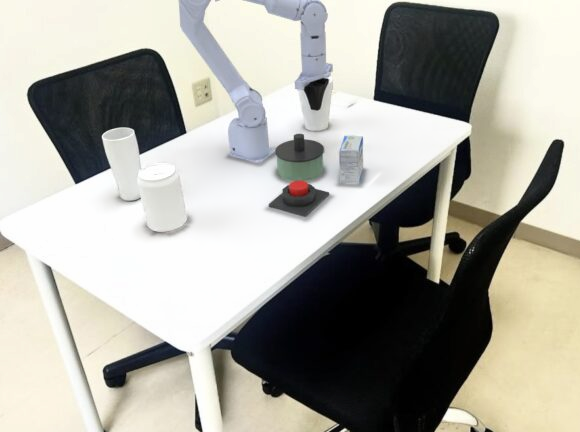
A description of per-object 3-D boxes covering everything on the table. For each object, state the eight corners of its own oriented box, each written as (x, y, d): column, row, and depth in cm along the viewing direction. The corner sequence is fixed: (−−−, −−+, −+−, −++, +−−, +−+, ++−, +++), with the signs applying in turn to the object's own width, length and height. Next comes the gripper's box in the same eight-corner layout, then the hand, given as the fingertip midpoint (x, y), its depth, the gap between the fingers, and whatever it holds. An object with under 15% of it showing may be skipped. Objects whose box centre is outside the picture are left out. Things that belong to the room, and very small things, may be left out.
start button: (285, 194, 116) (285, 187, 115) (295, 186, 119) (295, 178, 118) (302, 198, 115) (301, 191, 114) (311, 190, 117) (311, 182, 116)
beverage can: (144, 218, 116) (132, 167, 109) (182, 209, 118) (173, 158, 112) (151, 238, 109) (139, 184, 103) (192, 227, 112) (182, 175, 105)
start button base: (268, 209, 117) (267, 196, 115) (293, 187, 124) (293, 176, 122) (305, 219, 113) (305, 206, 111) (329, 197, 120) (329, 184, 118)
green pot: (269, 177, 129) (267, 156, 126) (293, 159, 136) (292, 138, 133) (308, 186, 124) (307, 165, 121) (330, 167, 131) (330, 146, 128)
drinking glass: (138, 185, 128) (124, 124, 120) (154, 195, 124) (140, 132, 116) (111, 196, 124) (95, 134, 116) (127, 206, 120) (111, 143, 112)
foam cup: (302, 119, 157) (300, 74, 150) (334, 119, 156) (334, 74, 149) (297, 133, 149) (294, 86, 142) (331, 133, 148) (330, 86, 141)
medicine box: (359, 186, 123) (359, 150, 118) (339, 185, 124) (338, 149, 119) (363, 169, 130) (363, 135, 125) (344, 168, 130) (343, 134, 126)
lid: (265, 158, 126) (264, 140, 124) (292, 140, 134) (290, 122, 132) (308, 168, 121) (307, 150, 118) (333, 148, 129) (332, 130, 126)
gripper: (312, 64, 121) (315, 122, 128) (343, 46, 131) (344, 101, 138) (285, 60, 124) (289, 117, 131) (317, 43, 134) (319, 97, 142)
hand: (315, 109), depth 135 cm, fingers closed
